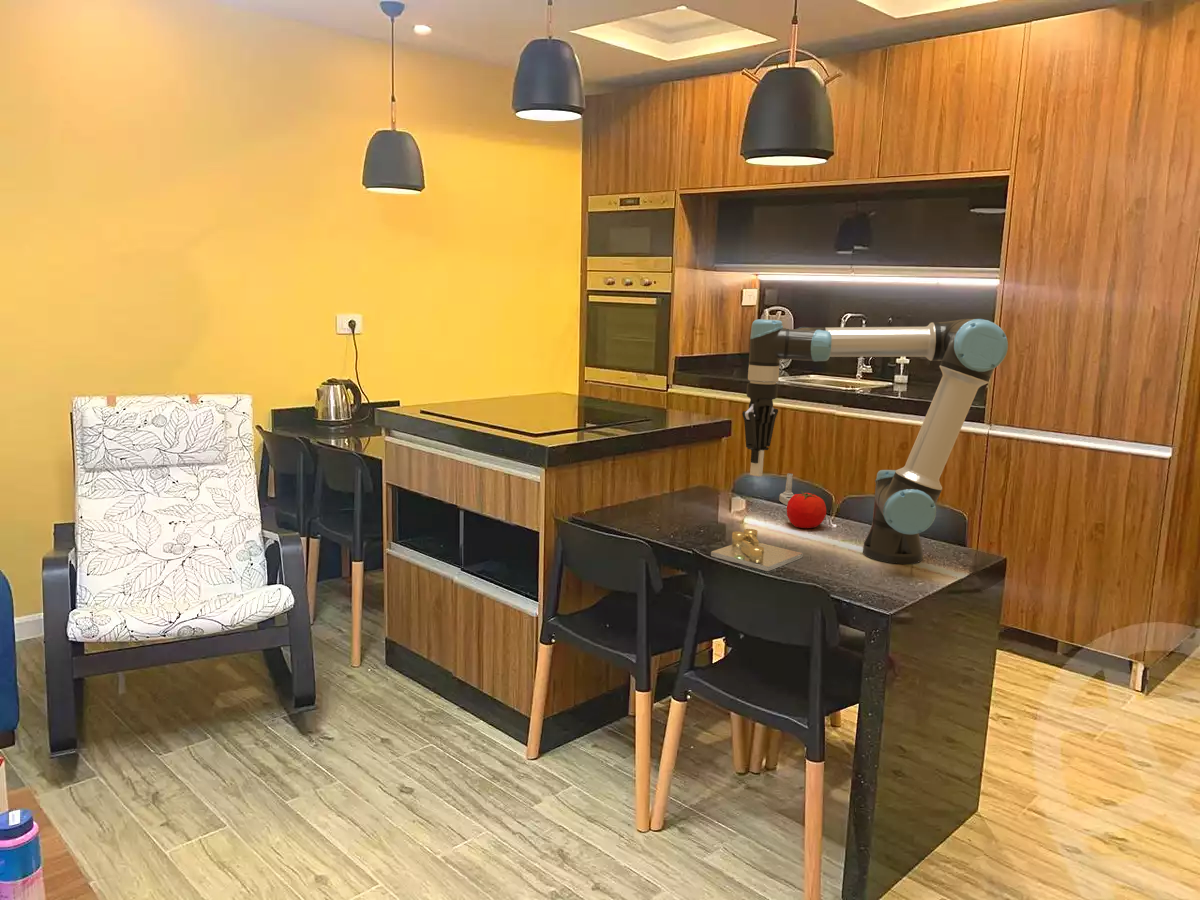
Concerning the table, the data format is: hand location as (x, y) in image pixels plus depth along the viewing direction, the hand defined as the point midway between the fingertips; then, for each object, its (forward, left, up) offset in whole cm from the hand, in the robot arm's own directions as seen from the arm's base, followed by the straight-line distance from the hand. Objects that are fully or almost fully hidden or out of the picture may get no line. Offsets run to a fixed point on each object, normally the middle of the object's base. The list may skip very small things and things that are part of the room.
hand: (756, 475), depth 226 cm
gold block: (+4, -6, -21) cm, 22 cm away
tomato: (+7, -40, -22) cm, 46 cm away
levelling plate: (0, -3, -22) cm, 22 cm away
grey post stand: (+22, -62, -22) cm, 69 cm away
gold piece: (-1, +2, -21) cm, 21 cm away
